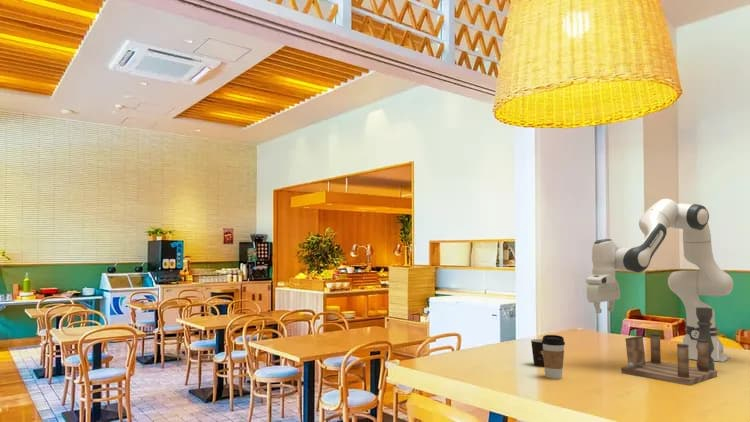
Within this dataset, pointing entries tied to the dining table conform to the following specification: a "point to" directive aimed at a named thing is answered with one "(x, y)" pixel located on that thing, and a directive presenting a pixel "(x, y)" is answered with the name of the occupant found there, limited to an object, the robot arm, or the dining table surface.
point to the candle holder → (705, 331)
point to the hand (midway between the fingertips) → (604, 312)
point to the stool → (675, 365)
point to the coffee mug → (537, 352)
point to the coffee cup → (553, 355)
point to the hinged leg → (635, 351)
